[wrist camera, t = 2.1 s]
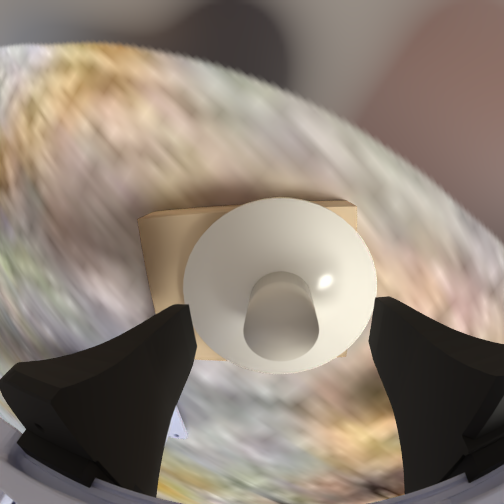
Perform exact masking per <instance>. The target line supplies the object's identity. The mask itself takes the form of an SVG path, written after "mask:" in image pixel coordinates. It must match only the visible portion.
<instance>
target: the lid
mask: <svg viewBox="0 0 504 504" xmlns="http://www.w3.org/2000/svg"><path fill="white" fill-rule="evenodd" d="M183 294H184V302H185V304H189V308H190V313H191V318H192V323H193V326H194V328H195V330H196V332H197V333H198V334H199V336H200V337H201V338H202V340H203V341H204V342H205V343H206V344H207V345H208V346H209V347H210V348H211V349H212V350H213V351H215V352H216V353H217V354H218V355H220V356H221V357H223V358H224V359H226V360H228V361H229V362H231V363H233V364H235V365H237V366H240V367H243V368H245V369H248V370H252V371H256V372H260V373H268V374H290V373H297V372H303V371H307V370H310V369H313V368H316V367H318V366H321V365H323V364H325V363H327V362H329V361H331V360H333V359H334V358H336V357H337V356H339V355H340V354H342V353H343V352H344V351H345V350H346V349H348V348H349V347H350V346H351V345H352V344H353V343H354V342H355V340H356V339H357V338H358V337H359V336H360V334H361V333H362V331H363V330H364V328H365V327H366V325H367V323H368V321H369V319H370V317H371V314H372V311H373V308H374V302H375V298H376V294H377V278H376V270H375V266H374V262H373V259H372V256H371V254H370V252H369V249H368V248H367V246H366V244H365V243H364V241H363V239H362V238H361V237H360V235H359V234H358V233H357V232H356V231H355V229H354V228H353V227H352V226H351V225H349V224H348V223H347V222H346V221H345V220H344V219H343V218H341V217H340V216H339V215H337V214H336V213H334V212H333V211H331V210H330V209H327V208H325V207H323V206H321V205H319V204H317V203H313V202H310V201H307V200H303V199H297V198H291V197H273V198H265V199H260V200H256V201H252V202H248V203H246V204H243V205H241V206H238V207H236V208H234V209H233V210H231V211H229V212H228V213H226V214H224V215H223V216H222V217H220V218H219V219H218V220H217V221H215V222H214V223H213V224H212V225H211V226H210V227H209V228H208V229H207V230H206V231H205V232H204V234H203V235H202V236H201V237H200V239H199V240H198V242H197V243H196V244H195V246H194V248H193V250H192V252H191V254H190V256H189V259H188V262H187V265H186V268H185V273H184V279H183Z"/></svg>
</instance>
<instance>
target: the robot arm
mask: <svg viewBox="0 0 504 504" xmlns="http://www.w3.org/2000/svg"><path fill="white" fill-rule="evenodd" d="M369 345H370V349H371V353H372V357H373V360H374V363H375V366H376V368H377V371H378V373H379V375H380V378H381V380H382V383H383V385H384V388H385V390H386V392H387V395H388V397H389V400H390V403H391V405H392V409H393V412H394V416H395V420H396V424H397V429H398V434H399V439H400V445H401V451H402V459H403V469H404V485H405V495H402V496H398V497H394V498H390V499H386V500H382V501H378V502H373V503H368V504H504V344H499V343H495V342H490V341H486V340H483V339H479V338H476V337H473V336H470V335H467V334H464V333H462V332H459V331H456V330H454V329H452V328H449V327H447V326H445V325H443V324H441V323H439V322H437V321H435V320H433V319H431V318H429V317H427V316H425V315H423V314H422V313H420V312H418V311H416V310H415V309H413V308H411V307H409V306H407V305H406V304H404V303H402V302H400V301H398V300H396V299H394V298H392V297H378V298H375V302H374V309H373V316H372V323H371V329H370V336H369ZM196 350H197V343H196V338H195V333H194V328H193V323H192V318H191V313H190V308H189V304H174V305H171V306H169V307H168V308H166V309H164V310H162V311H161V312H159V313H157V314H156V315H154V316H152V317H151V318H149V319H148V320H146V321H144V322H143V323H141V324H139V325H138V326H136V327H134V328H132V329H130V330H129V331H127V332H125V333H123V334H121V335H119V336H117V337H115V338H113V339H111V340H109V341H107V342H105V343H102V344H100V345H97V346H95V347H92V348H89V349H86V350H83V351H80V352H77V353H74V354H70V355H66V356H62V357H58V358H53V359H47V360H40V361H30V362H19V363H17V364H15V365H14V366H13V367H12V368H11V369H10V370H9V371H8V372H7V373H6V374H5V375H4V376H3V377H2V378H1V379H0V391H1V393H2V395H3V397H4V399H5V400H6V402H7V404H8V405H9V407H10V408H11V409H12V411H13V412H14V414H15V415H16V416H17V418H18V419H19V420H20V422H21V423H22V424H23V426H24V427H25V428H26V430H25V432H24V433H23V434H22V433H21V432H20V431H19V430H17V429H16V428H15V427H13V426H12V425H10V424H9V423H7V422H6V421H4V420H3V419H1V418H0V504H181V503H177V502H172V501H167V500H163V499H159V498H156V495H157V486H158V478H159V472H160V466H161V461H162V455H163V451H164V446H165V444H166V441H167V438H168V437H172V438H178V439H187V437H188V433H187V431H186V428H185V426H184V423H183V421H182V418H181V415H180V413H179V410H178V408H177V402H178V400H179V398H180V395H181V393H182V390H183V388H184V386H185V383H186V381H187V378H188V376H189V374H190V371H191V369H192V366H193V362H194V358H195V354H196Z"/></svg>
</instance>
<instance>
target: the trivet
mask: <svg viewBox="0 0 504 504" xmlns="http://www.w3.org/2000/svg"><path fill="white" fill-rule="evenodd" d="M310 202H313V203H317V204H319V205H321V206H323V207H325V208H327V209H330V210H331V211H333V212H334V213H336V214H337V215H339V216H340V217H341V218H343V219H344V220H345V221H346V222H347V223H348V224H349V225H351V226H352V227H353V228H354V229H355V231H356V232H357V206H355V205H354V204H352V203H350V202H348V201H346V200H340V201H310ZM241 205H243V204H241ZM241 205H225V206H212V207H199V208H187V209H176V210H165V211H155V212H152V213H150V214H148V215H145V216H143V217H141V218H139V219H137V220H138V227H139V233H140V239H141V245H142V251H143V256H144V262H145V267H146V272H147V277H148V282H149V287H150V291H151V296H152V300H153V304H154V309H155V313H156V314H157V313H159V312H161V311H162V310H164V309H166V308H168V307H169V306H171V305H174V304H185V302H184V294H183V279H184V273H185V268H186V265H187V262H188V259H189V256H190V254H191V252H192V250H193V248H194V246H195V244H196V243H197V242H198V240H199V239H200V237H201V236H202V235H203V234H204V232H205V231H206V230H207V229H208V228H209V227H210V226H211V225H212V224H213V223H214V222H215V221H217V220H218V219H219V218H220V217H222V216H223V215H224V214H226V213H228V212H229V211H231V210H233V209H234V208H236V207H238V206H241ZM193 328H194V326H193ZM194 333H195V338H196V343H197V350H196V354H195V358H194V359H195V360H218V361H228V360H226V359H224V358H223V357H221V356H220V355H218V354H217V353H216V352H215V351H213V350H212V349H211V348H210V347H209V346H208V345H207V344H206V343H205V342H204V341H203V340H202V338H201V337H200V336H199V334H198V333H197V332H196V330H195V328H194ZM346 354H347V349H346V350H345V351H344V352H343V353H342V354H340V355H339V356H337V357H346Z"/></svg>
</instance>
